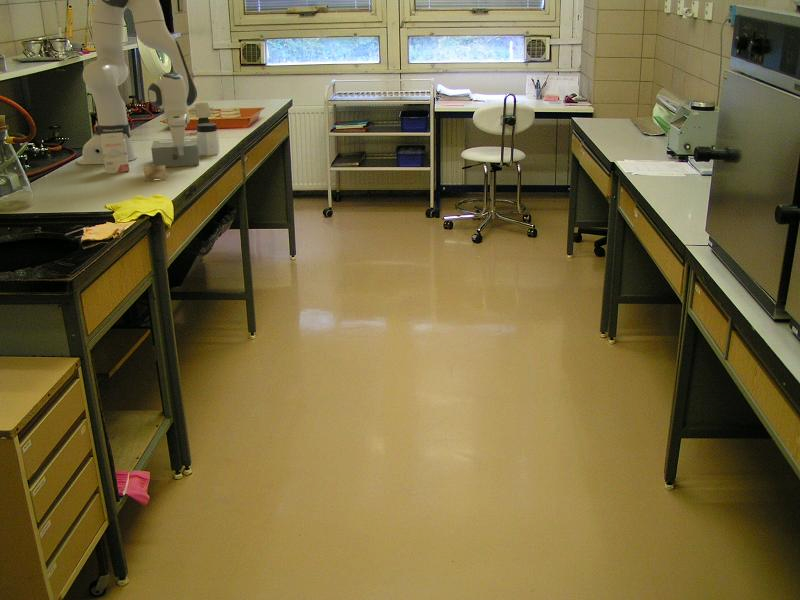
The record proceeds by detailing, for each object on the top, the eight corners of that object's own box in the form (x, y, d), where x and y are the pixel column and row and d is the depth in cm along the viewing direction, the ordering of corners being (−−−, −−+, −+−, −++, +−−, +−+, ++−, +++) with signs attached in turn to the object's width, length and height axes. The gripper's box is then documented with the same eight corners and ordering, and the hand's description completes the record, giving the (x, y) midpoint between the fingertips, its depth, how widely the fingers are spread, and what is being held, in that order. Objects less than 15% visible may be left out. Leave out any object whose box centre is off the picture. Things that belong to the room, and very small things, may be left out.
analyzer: (153, 167, 327) (151, 147, 324) (155, 159, 341) (153, 140, 339) (199, 164, 330) (197, 144, 327) (199, 157, 344) (197, 137, 342)
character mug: (217, 129, 410) (214, 102, 405) (214, 132, 403) (212, 104, 399) (194, 130, 410) (191, 102, 405) (191, 132, 403) (188, 104, 398)
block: (145, 181, 304) (144, 170, 302) (146, 177, 310) (145, 166, 309) (165, 179, 305) (164, 168, 304) (166, 175, 312) (165, 165, 310)
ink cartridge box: (129, 169, 325) (124, 130, 320) (129, 171, 320) (123, 132, 315) (105, 171, 323) (100, 132, 318) (105, 173, 318) (99, 134, 313)
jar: (202, 156, 345) (199, 126, 341) (195, 153, 352) (192, 124, 347) (223, 154, 350) (220, 124, 346) (216, 151, 356) (213, 122, 352)
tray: (153, 168, 324) (151, 150, 322) (156, 159, 340) (154, 143, 338) (198, 165, 327) (196, 148, 325) (198, 157, 343) (197, 140, 341)
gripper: (169, 114, 329) (174, 150, 333) (167, 122, 310) (171, 160, 315) (186, 113, 330) (190, 149, 334) (185, 121, 311) (189, 159, 316)
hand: (181, 155), depth 324 cm, fingers closed
